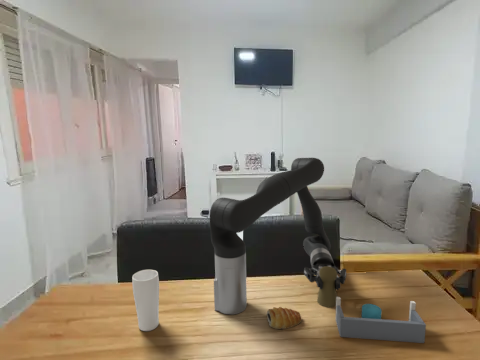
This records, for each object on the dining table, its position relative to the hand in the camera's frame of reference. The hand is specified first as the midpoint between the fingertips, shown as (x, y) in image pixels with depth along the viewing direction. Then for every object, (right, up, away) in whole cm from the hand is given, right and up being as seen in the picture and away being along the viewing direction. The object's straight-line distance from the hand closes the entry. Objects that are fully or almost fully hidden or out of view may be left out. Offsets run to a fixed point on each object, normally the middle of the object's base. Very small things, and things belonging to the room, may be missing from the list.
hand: (329, 286), depth 89 cm
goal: (+10, -8, -10) cm, 16 cm away
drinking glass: (-52, -9, -6) cm, 53 cm away
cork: (0, -6, +4) cm, 7 cm away
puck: (+10, -7, -5) cm, 14 cm away
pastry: (-15, -8, -5) cm, 18 cm away
